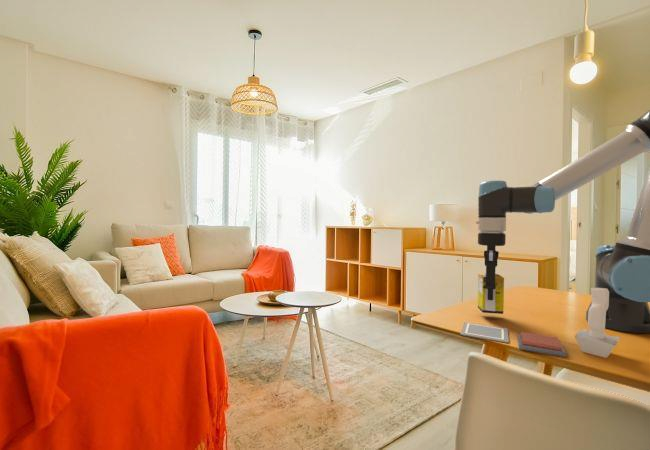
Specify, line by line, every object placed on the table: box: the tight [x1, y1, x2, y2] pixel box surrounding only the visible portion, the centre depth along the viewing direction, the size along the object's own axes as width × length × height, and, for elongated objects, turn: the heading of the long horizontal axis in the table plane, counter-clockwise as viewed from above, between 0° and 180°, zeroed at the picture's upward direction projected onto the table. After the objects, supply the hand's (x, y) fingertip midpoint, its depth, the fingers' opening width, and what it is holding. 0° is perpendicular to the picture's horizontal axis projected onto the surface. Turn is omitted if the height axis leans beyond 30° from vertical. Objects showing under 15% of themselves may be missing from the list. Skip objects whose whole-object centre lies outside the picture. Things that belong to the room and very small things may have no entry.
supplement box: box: [477, 273, 505, 315], centre depth 103 cm, size 6×6×11 cm
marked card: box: [460, 321, 510, 344], centre depth 90 cm, size 11×11×1 cm
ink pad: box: [516, 331, 567, 358], centre depth 80 cm, size 9×8×2 cm
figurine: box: [574, 287, 621, 359], centre depth 78 cm, size 7×9×15 cm
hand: (490, 307), depth 103 cm, fingers closed on supplement box, 7 cm apart
